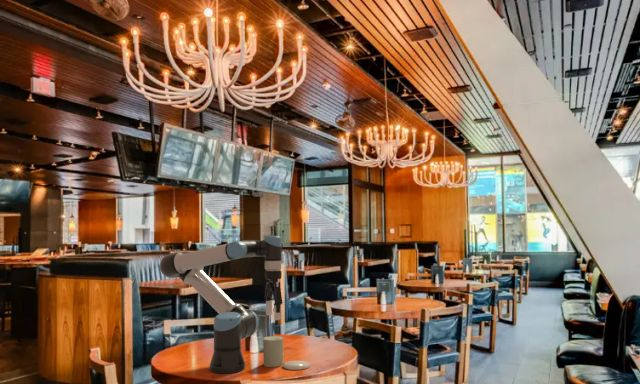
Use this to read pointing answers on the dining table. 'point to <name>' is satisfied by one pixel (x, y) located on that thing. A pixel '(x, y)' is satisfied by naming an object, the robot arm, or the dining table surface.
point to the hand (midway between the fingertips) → (273, 317)
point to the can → (273, 351)
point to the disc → (296, 365)
